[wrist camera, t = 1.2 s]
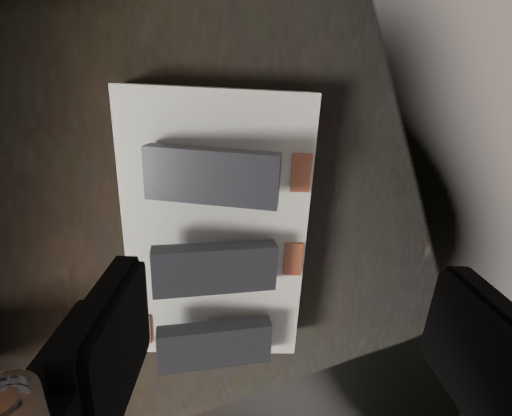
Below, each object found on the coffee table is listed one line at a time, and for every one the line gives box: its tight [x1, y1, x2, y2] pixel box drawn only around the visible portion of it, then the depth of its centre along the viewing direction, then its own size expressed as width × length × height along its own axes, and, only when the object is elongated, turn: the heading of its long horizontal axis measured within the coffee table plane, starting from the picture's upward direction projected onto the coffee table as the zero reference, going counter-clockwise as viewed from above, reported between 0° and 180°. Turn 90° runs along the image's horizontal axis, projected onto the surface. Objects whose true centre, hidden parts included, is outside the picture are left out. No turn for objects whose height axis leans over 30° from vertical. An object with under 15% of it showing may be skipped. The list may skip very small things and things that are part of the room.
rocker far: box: [155, 315, 273, 376], centre depth 28 cm, size 4×9×1 cm, turn 87°
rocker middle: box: [150, 239, 279, 300], centre depth 25 cm, size 4×9×1 cm, turn 87°
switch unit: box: [108, 83, 322, 353], centre depth 28 cm, size 22×14×4 cm, turn 177°
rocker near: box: [141, 143, 282, 211], centre depth 23 cm, size 4×9×1 cm, turn 87°
